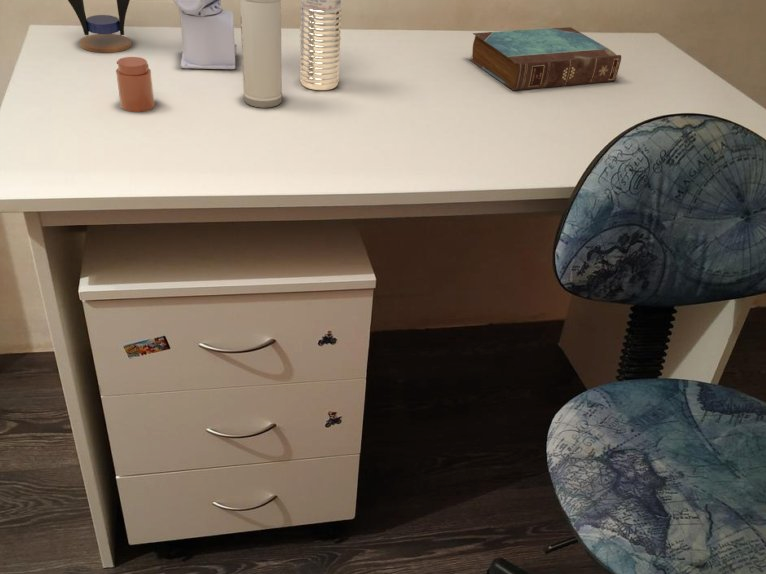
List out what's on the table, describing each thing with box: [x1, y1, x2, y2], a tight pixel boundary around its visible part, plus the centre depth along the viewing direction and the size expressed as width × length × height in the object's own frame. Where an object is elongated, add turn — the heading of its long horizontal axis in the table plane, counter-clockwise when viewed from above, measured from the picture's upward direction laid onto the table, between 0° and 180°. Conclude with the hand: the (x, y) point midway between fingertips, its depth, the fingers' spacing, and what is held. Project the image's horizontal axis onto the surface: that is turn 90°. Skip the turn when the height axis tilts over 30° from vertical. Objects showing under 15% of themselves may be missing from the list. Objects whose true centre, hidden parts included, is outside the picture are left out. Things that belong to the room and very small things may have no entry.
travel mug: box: [239, 0, 283, 109], centre depth 127 cm, size 6×7×20 cm
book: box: [469, 26, 622, 91], centre depth 154 cm, size 23×18×5 cm
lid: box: [86, 14, 120, 34], centre depth 146 cm, size 6×6×2 cm
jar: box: [115, 56, 156, 113], centre depth 126 cm, size 5×5×7 cm
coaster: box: [79, 33, 132, 54], centre depth 148 cm, size 9×9×1 cm
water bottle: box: [299, 0, 342, 91], centre depth 133 cm, size 7×7×25 cm
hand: (104, 33), depth 147 cm, fingers closed on lid, 5 cm apart
